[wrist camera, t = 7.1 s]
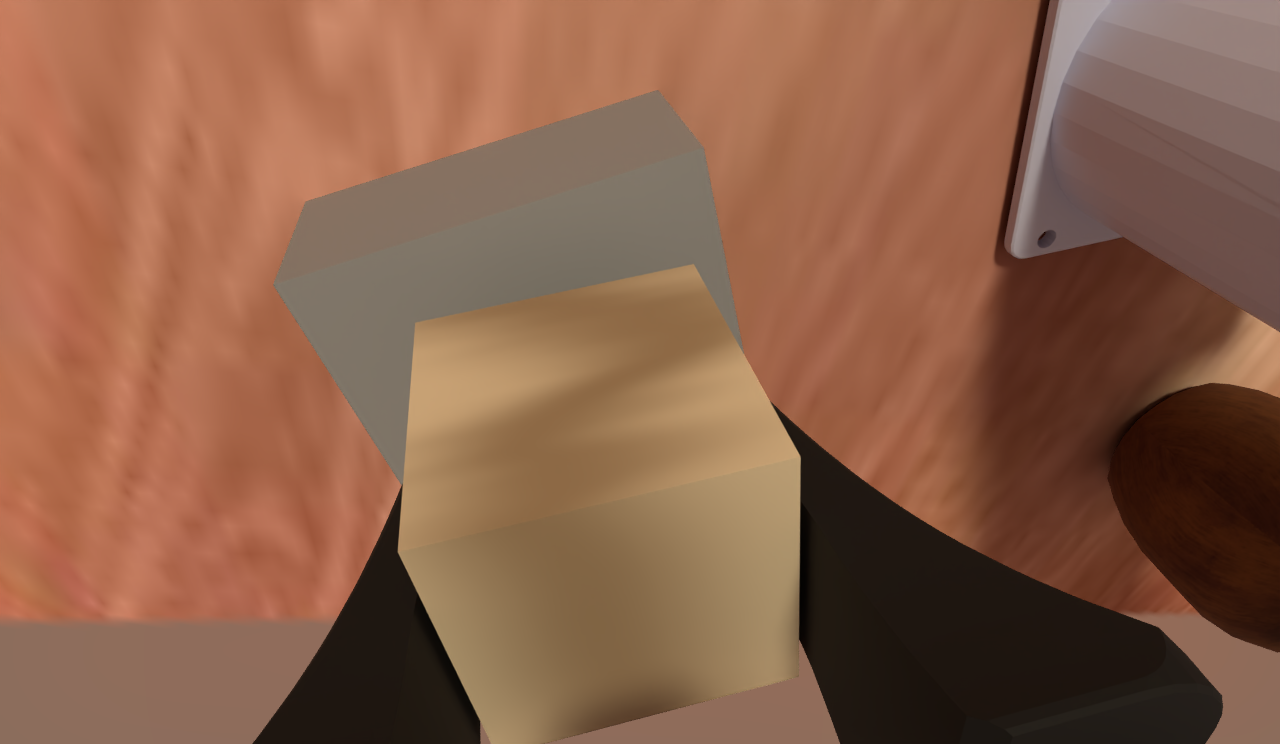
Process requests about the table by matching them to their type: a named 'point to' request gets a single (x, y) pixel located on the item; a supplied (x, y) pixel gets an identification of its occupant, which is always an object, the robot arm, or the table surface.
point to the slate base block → (495, 242)
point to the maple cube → (599, 507)
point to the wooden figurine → (1209, 503)
